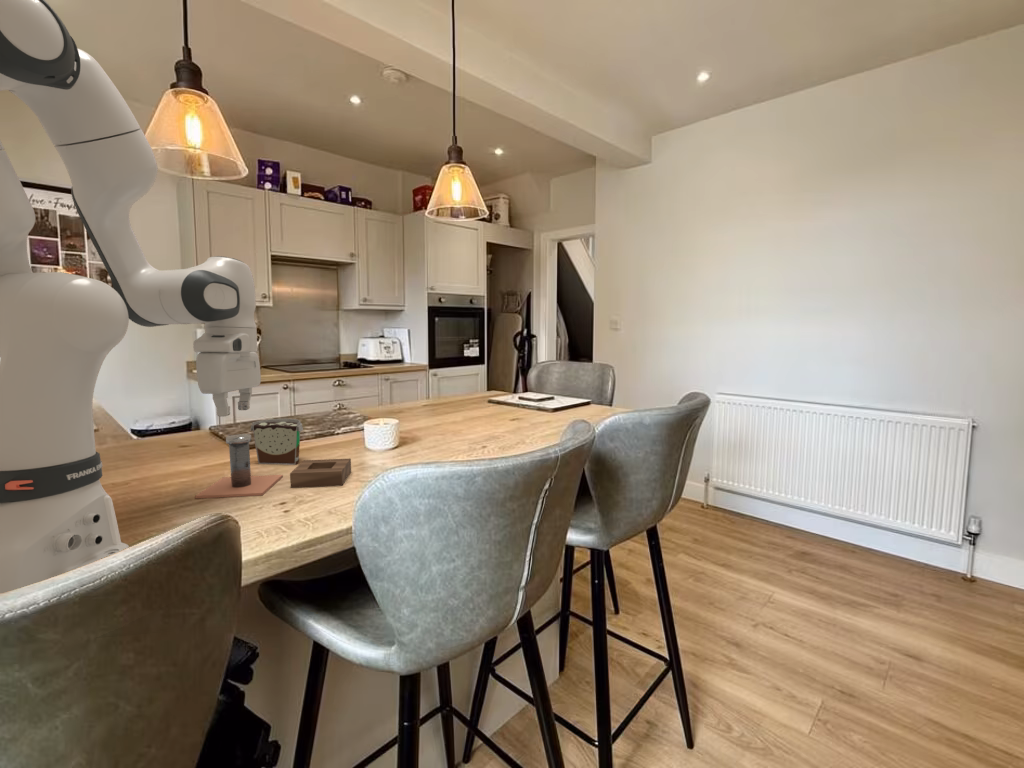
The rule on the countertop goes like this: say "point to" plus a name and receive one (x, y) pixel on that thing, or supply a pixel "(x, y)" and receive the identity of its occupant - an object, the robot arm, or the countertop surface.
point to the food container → (277, 441)
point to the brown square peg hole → (320, 473)
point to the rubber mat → (226, 490)
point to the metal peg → (239, 459)
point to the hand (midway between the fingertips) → (234, 412)
